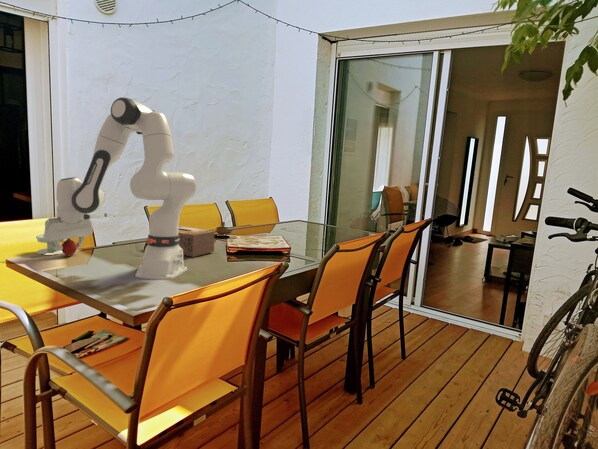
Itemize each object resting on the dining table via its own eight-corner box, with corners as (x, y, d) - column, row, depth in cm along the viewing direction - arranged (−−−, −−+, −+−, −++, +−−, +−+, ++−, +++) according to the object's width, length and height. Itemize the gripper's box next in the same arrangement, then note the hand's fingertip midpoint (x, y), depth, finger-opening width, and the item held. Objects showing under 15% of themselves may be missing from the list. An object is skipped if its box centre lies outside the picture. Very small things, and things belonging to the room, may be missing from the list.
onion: (79, 256, 183) (78, 238, 182) (64, 258, 179) (64, 239, 177) (73, 254, 187) (73, 236, 186) (59, 255, 183) (59, 237, 181)
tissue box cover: (213, 251, 209) (214, 231, 207) (193, 256, 196) (193, 235, 195) (174, 244, 221) (174, 225, 220) (152, 248, 208) (152, 228, 207)
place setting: (203, 235, 252) (203, 225, 252) (220, 230, 271) (221, 221, 270) (229, 238, 247) (230, 228, 246) (245, 234, 265) (246, 224, 264)
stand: (59, 256, 182) (58, 238, 181) (32, 254, 181) (31, 237, 180) (71, 250, 193) (71, 234, 192) (46, 249, 192) (45, 233, 191)
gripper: (50, 219, 170) (51, 253, 172) (94, 214, 188) (95, 245, 190) (40, 217, 172) (41, 251, 175) (84, 213, 191) (85, 243, 193)
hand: (69, 248), depth 182 cm, fingers open, 8 cm apart
